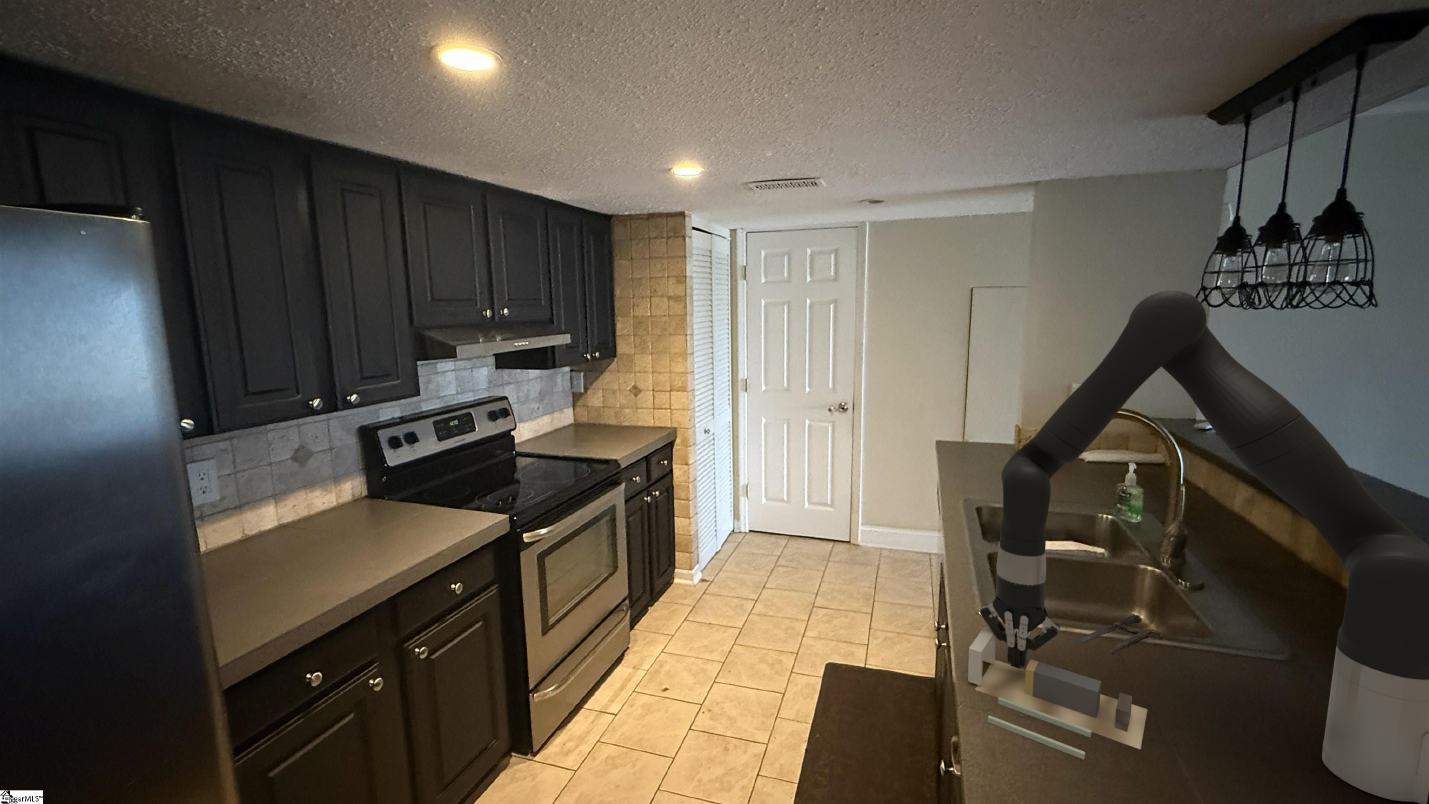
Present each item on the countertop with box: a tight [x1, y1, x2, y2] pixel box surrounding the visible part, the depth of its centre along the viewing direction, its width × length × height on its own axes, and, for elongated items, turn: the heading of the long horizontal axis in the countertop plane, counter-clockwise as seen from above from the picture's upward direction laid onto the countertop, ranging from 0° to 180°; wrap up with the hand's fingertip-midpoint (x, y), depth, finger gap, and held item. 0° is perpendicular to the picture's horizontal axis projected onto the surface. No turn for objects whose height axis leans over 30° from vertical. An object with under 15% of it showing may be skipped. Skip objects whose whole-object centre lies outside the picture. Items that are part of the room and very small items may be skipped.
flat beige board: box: [975, 659, 1148, 750], centre depth 98 cm, size 23×11×4 cm, turn 50°
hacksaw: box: [1071, 613, 1163, 656], centre depth 114 cm, size 24×10×2 cm, turn 115°
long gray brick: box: [1025, 659, 1102, 718], centre depth 98 cm, size 10×3×4 cm, turn 50°
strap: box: [967, 626, 997, 686], centre depth 105 cm, size 2×9×6 cm, turn 140°
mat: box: [987, 697, 1092, 760], centre depth 92 cm, size 13×6×1 cm, turn 50°
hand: (1016, 665), depth 106 cm, fingers closed
